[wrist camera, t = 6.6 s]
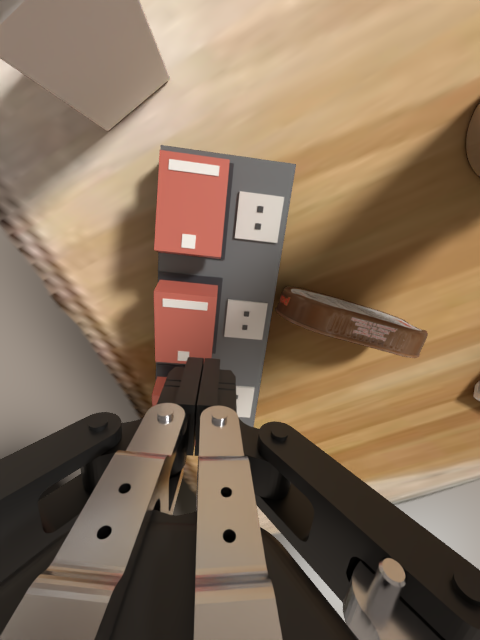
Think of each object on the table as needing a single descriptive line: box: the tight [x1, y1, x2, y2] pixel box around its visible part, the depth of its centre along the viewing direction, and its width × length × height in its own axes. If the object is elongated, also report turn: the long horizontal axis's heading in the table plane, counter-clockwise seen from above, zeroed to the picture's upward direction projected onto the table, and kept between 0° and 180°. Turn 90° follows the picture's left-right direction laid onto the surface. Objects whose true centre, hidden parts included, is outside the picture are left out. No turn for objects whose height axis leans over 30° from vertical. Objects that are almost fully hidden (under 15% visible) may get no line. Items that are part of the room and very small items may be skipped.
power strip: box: [156, 145, 296, 427], centre depth 30 cm, size 11×28×5 cm, turn 173°
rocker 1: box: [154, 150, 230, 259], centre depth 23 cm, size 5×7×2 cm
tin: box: [275, 287, 428, 358], centre depth 30 cm, size 15×3×8 cm, turn 73°
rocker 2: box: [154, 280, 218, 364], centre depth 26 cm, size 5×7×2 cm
